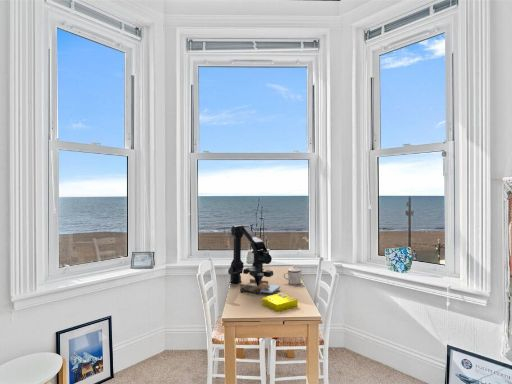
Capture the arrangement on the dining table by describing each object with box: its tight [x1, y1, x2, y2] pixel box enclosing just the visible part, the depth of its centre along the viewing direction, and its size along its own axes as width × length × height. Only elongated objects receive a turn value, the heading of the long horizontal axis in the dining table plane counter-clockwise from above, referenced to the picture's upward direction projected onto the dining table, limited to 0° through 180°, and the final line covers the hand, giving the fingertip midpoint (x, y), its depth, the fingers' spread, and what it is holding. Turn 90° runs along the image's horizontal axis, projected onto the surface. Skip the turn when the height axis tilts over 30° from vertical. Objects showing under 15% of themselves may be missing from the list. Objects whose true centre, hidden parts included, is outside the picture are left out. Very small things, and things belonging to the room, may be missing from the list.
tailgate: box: [260, 284, 281, 294], centre depth 202 cm, size 1×14×8 cm
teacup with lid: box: [283, 265, 302, 285], centre depth 222 cm, size 12×9×12 cm
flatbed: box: [239, 278, 269, 295], centre depth 207 cm, size 14×17×4 cm
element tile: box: [261, 292, 298, 313], centre depth 178 cm, size 15×15×5 cm
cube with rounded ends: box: [259, 283, 270, 290], centre depth 200 cm, size 7×3×3 cm, turn 62°
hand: (258, 285), depth 202 cm, fingers closed
